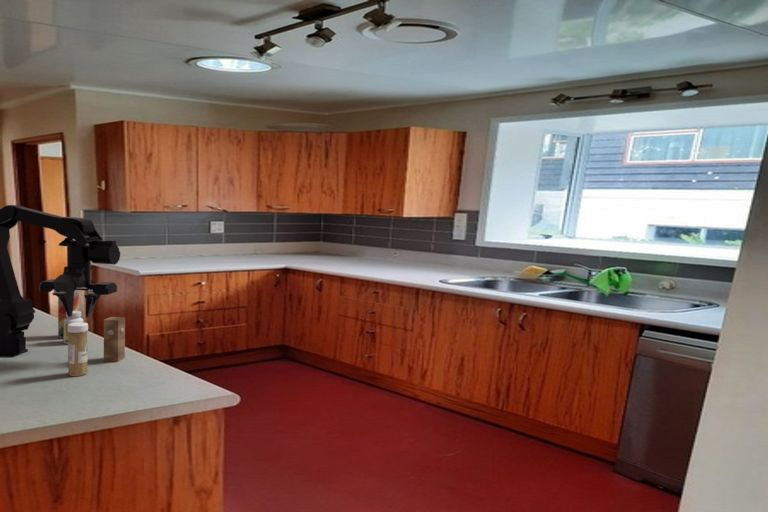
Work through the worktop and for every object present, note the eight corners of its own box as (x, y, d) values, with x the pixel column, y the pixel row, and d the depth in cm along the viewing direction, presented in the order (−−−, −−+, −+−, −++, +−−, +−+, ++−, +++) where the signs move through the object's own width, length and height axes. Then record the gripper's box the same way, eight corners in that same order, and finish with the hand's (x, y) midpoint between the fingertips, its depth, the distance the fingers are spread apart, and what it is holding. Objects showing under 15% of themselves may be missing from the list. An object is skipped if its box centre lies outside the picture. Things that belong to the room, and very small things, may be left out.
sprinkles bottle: (88, 375, 130) (88, 324, 129) (67, 377, 127) (67, 326, 126) (87, 370, 134) (87, 321, 132) (67, 372, 131) (67, 322, 130)
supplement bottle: (86, 342, 158) (87, 312, 157) (68, 345, 154) (68, 314, 153) (78, 339, 161) (78, 309, 160) (60, 342, 157) (59, 311, 156)
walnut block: (103, 361, 141) (103, 320, 140) (110, 357, 145) (111, 316, 144) (118, 362, 141) (118, 320, 140) (125, 357, 146) (125, 317, 144)
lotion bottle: (57, 339, 159) (57, 277, 158) (59, 335, 164) (59, 275, 163) (78, 338, 162) (78, 277, 160) (79, 334, 167) (79, 275, 165)
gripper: (25, 263, 132) (26, 321, 133) (97, 267, 133) (97, 325, 134) (51, 259, 143) (52, 313, 145) (118, 263, 144) (117, 316, 145)
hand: (78, 316), depth 142 cm, fingers open, 5 cm apart
